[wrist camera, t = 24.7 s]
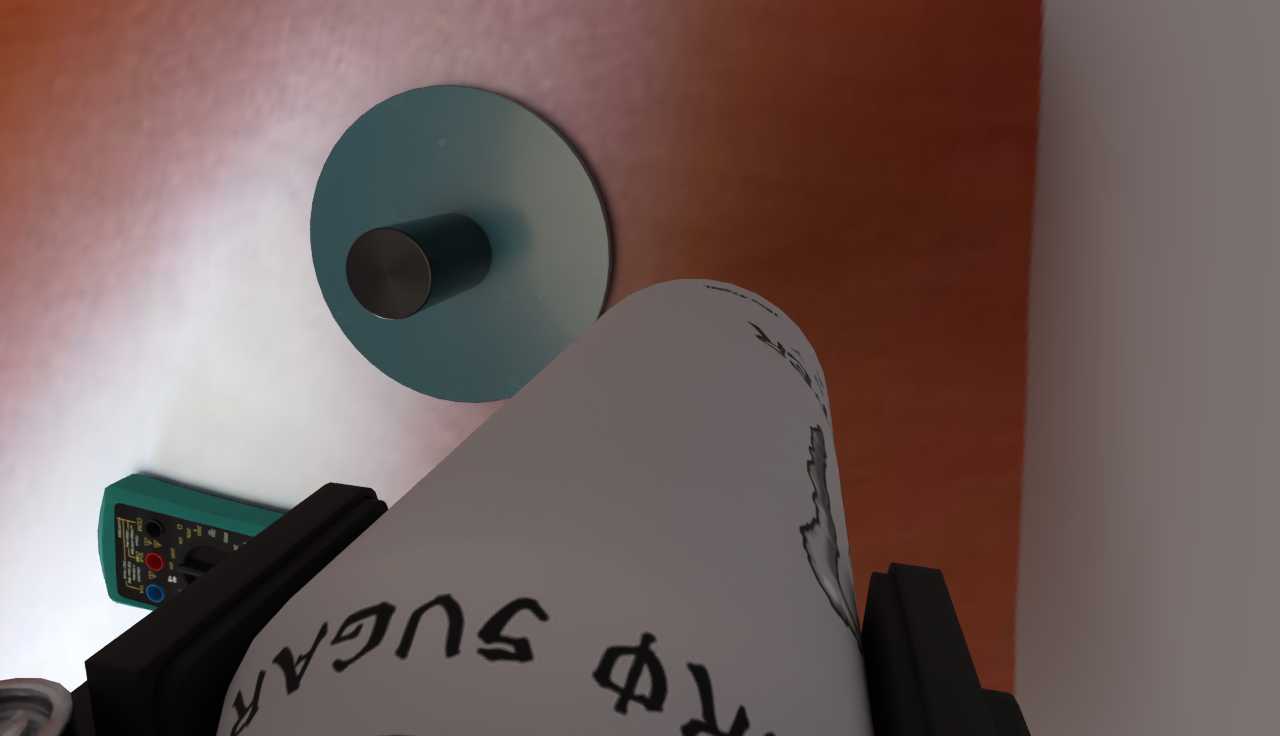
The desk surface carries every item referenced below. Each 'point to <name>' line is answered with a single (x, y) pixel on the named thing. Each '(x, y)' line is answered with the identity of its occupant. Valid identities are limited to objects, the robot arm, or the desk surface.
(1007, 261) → the desk surface
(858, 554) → the desk surface
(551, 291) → the pot lid
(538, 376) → the energy drink can
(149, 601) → the digital multimeter
